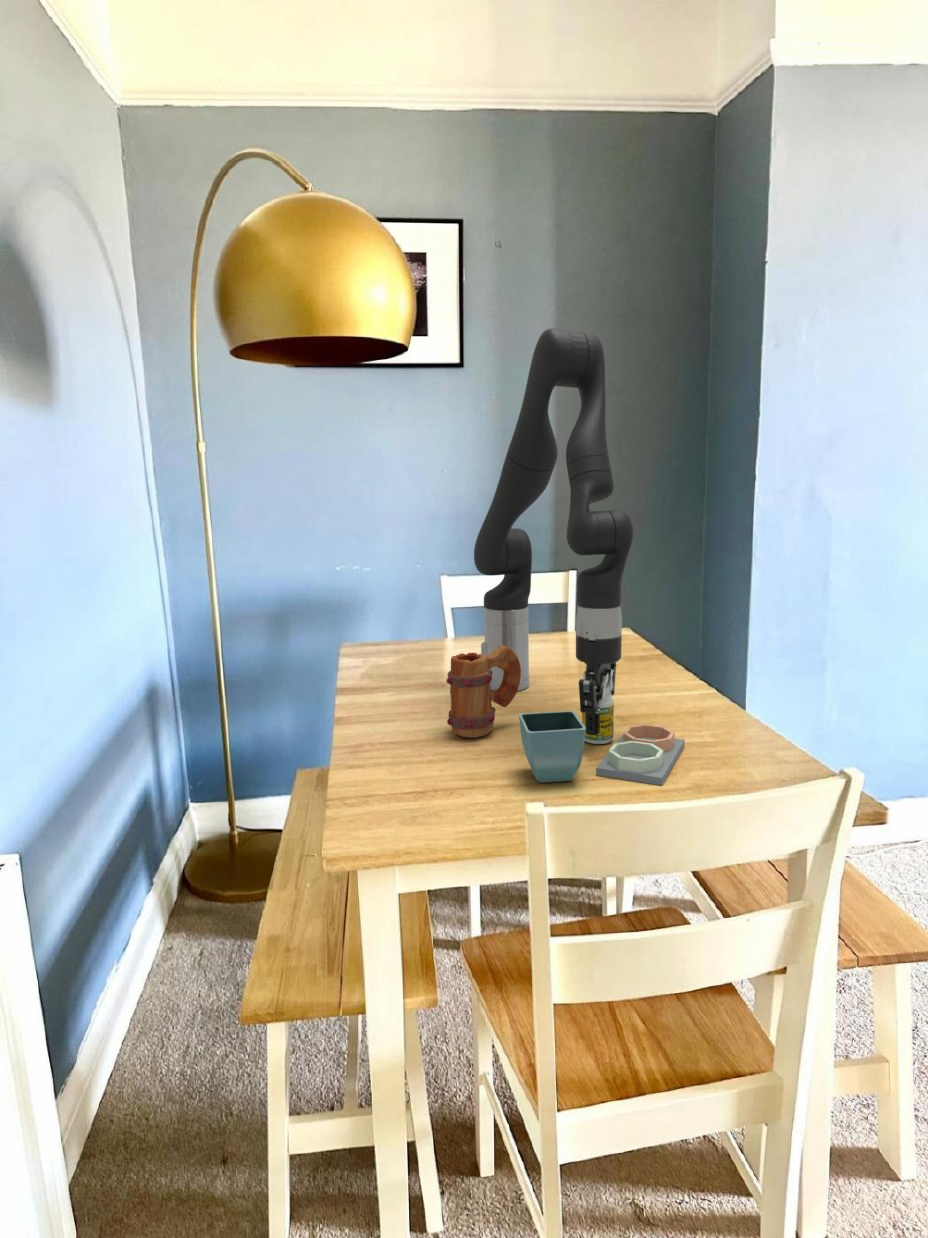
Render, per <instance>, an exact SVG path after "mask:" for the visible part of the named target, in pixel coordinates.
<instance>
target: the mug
mask: <svg viewBox="0 0 928 1238" xmlns="http://www.w3.org/2000/svg"><path fill="white" fill-rule="evenodd" d="M495 666H496V667H498V668H500V669H502V670H503V671H504V674H503V681H502V683H501V685H500V687H499V688H498V689H497V690H495V691H494V690H491V689H490V682H491V681H492V674H493V673H492V671H491V668H492V667H495ZM520 678H521V666H520V662H519V659H518V657H517V656H516V654H515V653H514V652H513V650H512V649H510V648H508V647H506V646H502V645H501V646H498V647H496V649H495V650H494V651H493V652H492V653H491V654H489V655H484V654H481V653H479V654H478V652H468V653H459V654H456V655H452V656H451V658H450V670H449V671H448V672H447V678H446V684H448V685H450V687H449V693H450V710H449V711H448V719H447V721H446V723H447V725H448V726H451V732H452V733H453V734H455V735H457V736H460V737H462V738H467V739H470V738H471V739H473V738H474V739H477V738H481V737H484V736H486V735H488V734H489V733H490V732H491V731H492V730H493V728H494V725H495V723H494V721H495V718H496V707H494V706H493V705H492V702H493V703H496V704H497V705H499V706H501V707H502V708H507V707H508V706H509V705H510V704H511V703H512V701H513V700H514V698H515V696H516V694H517V693H518V692H519V691H518V687H519V683H520Z"/></svg>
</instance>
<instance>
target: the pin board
mask: <svg viewBox="0 0 928 1238" xmlns="http://www.w3.org/2000/svg"><path fill="white" fill-rule="evenodd" d="M675 735H676V734H675V732H674V731H673V730H671V729H669V728H668V727H665V726H663V725H654V724H646V723H643V724H635V725H631V726H627V727H626V729H625V730H624V731H623V733H622V736H620V738H619V739H618V740H617V742H615V743H613V744H612V746H611V747H610V748H609V749H608V752H607V754H606V755H605V757H604V758H603V759H602V760H601V761H600V763H599V764H598V765H597V767H596V768H595V770H596V771H595V772H596V773H595V775H596V776H600V777H604V778H611V779H618V780H623V781H624V780H626V781H630V782H637V783H644V784H651V785H657V786H663V785H664V783H665V781H666V780H667V778H668V776H669V774H670V773H671V770H672V769H673V768H674V766H675V764H676V762H677V760H678V759H679V757H680V755H681V753H682V751H683V750H684V748H685V744H686V743H685V742H686V741H685V739H683V738H682V739H680V738H675V737H676V736H675Z"/></svg>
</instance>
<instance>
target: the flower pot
mask: <svg viewBox="0 0 928 1238" xmlns="http://www.w3.org/2000/svg"><path fill="white" fill-rule="evenodd" d="M518 720H519V729H520V736H521V737H520V738H521V742H522V748H523V751H524V754H525V758H526V759H527V762H528V765H529V766H530V769H531V771H532V774H533V776H534V777H535V779H536V781H537V782H538V783H540V784H541V783H542V784H543V783H554V782H569V781H572V780H573V778H574V777H575V776H576V774H577V773H578V771H579V769H580V766H581V763H582V761H583V756H584V755H583V754H584V749H585V742H586V741H585V733H586V727H585V726H584V725H583V723H582V720H581V719H580V718H579V717H578V715H577V714H576V712H575V711H573V710H562V711H543V712H530V713H529V712H526V713H519V714H518Z"/></svg>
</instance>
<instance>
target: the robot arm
mask: <svg viewBox="0 0 928 1238" xmlns="http://www.w3.org/2000/svg"><path fill="white" fill-rule="evenodd" d="M531 358H532V359H531V362H530V368H529V372H528V376H527V381H526V385H525V391H524V395H523V400H522V405H521V407H520V411H519V415H518V418H517V421H516V425H515V429H514V431H513V435H512V437H511V439H510V440H511V441H510V443H509V446H508V448H507V452H506V456H505V458H504V462H503V465H502V469H501V473H500V477H499V480H498V482H497V486H496V489H495V492H494V495H493V497H492V500H491V504H490V506H489V508H488V511H487V513H486V516H485V517H484V520H483V522H482V525H481V526H480V527H481V528H480V529H479V532H478V535H477V536H476V540H475V545H474V550H473V559H474V561H473V562H474V565H475V568H476V570H477V571H478V572H479V573H480V574H482V575H484V576H503V579H502V580H501V581H500V582H499V583H498V584H497V585H496V586H494V587H493V588H491V589H489V590H488V591H486V592H485V593H484V595H483V614H484V615H483V621H484V626H483V627H484V641H483V642H481V645H480V654H484V655H489V654H491V653H492V652H493V651H494V650H495V649H496V647H498V646H501V645H502V646H506V647H508V648H510V649H512V650H513V652H514V653H515V654H516V656H517V657H518V659H519V662H520V666H521V678H520V683H519V687H518V691H517V692H519V691H522V690H525V689H528V687H529V686H530V663H529V662H530V659H529V658H530V655H529V654H530V653H529V649H530V648H529V647H530V646H529V645H530V644H529V639H530V638H529V598H530V595H531V590H532V589H531V588H532V566H533V565H532V563H533V561H532V560H533V552H532V551H533V549H532V542H531V539H530V536H529V535H528V533H527V532H526V531H525V530H524V529H522V528H518V527H517V528H513V526H514V525H515V523H516V521H517V520H518V519H519V517H521V515H523V514H524V513H525V511H527V510H528V509H529V508H530V507H531V506H532V505H534V503H535V502H536V501H537V500H538V499H539V498H540V496H541V495H542V494H543V493H544V491H545V490H546V489H547V487H548V485H549V483H550V480H551V477H552V474H553V471H554V469H555V466H556V464H557V461H558V455H559V453H558V446H557V445H558V444H557V440H556V436H555V434H554V431H553V428H552V425H551V421H550V415H549V406H550V405H549V404H550V400H551V396H552V393H553V390H554V389H555V387H563V388H564V387H565V388H575V389H577V390H578V393H579V396H580V410H579V411H580V412H579V415H578V417H577V420H576V421H575V425H574V426H573V429H572V431H571V434H569V435H570V436H569V438H568V440H567V445H566V449H565V463H566V469H567V475H568V482H569V483H568V484H569V489H570V500H569V501H570V502H569V503H570V504H569V513H568V520H567V526H566V541H567V544H568V546H569V548H570V549H571V551H572V552H573V553H575V554H576V555H578V556H593V555H595V556H597V555H604V557H603V559H602V560H601V562H600V563H599V564H597V565H596V566H594V567H590V568H587V569H584V570H582V571H580V572H579V574H578V575H577V608H576V609H577V610H576V617H575V657H576V660H578V661H579V662H583V663H584V664H585V665H586V667H585V670H584V671H583V678H582V679H581V678H580V679H579V681H578V692H579V710H580V713H582V712H583V713H586V733H587V734H589V735H598V734H599V731H600V706H601V701H602V700H604V697H605V689H606V684H609V685H610V693H609V696H610V697H612V696H614V695H615V693H616V691H615V687H616V673H617V671H616V670H617V662H619V661H620V660H621V659H622V645H623V644H622V641H623V640H622V638H623V637H622V636H623V634H622V631H623V618H622V617H623V616H622V608H621V607H622V605H621V599H622V596H621V595H622V594H621V593H622V579H623V575H624V571H625V567H626V563H627V560H628V556H629V553H630V550H631V547H632V544H633V543H632V542H633V540H634V539H633V537H634V526H633V522H632V520H631V517H629V515H628V514H627V513H626V512H625V511H622V510H619V509H618V510H616V509H615V510H596V511H595V510H594V511H592V510H590V504H594V503H598V502H601V501H603V500H605V499H608V498H609V497H610V496H611V495H612V494H613V492H614V488H615V487H614V478H613V472H612V467H611V461H610V456H609V449H608V442H607V431H606V364H605V354H604V348H603V344H602V342H601V339H600V338H599V337H598V336H597V334H594V333H592V332H588V331H582V330H572V329H571V330H570V329H566V328H565V329H564V328H553V327H552V328H547V329H545V330H544V331H543V332H542V333H541V334H540V335H539V338H538V340H537V342H536V345H535V347H534V351H533V354H532V357H531ZM491 671H492V673H493V674H492V681H491V682H490V690H491V691H495V690H497V689H498V688H499V687H500V685H501V683H502V681H503V674H504V671H503V670H502V669H500V668H498V667H496V666H495V667H492V668H491ZM596 692H597V693H599V692H600V694H599V695H596ZM589 701H590V702H591V703H592V706H589Z"/></svg>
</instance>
